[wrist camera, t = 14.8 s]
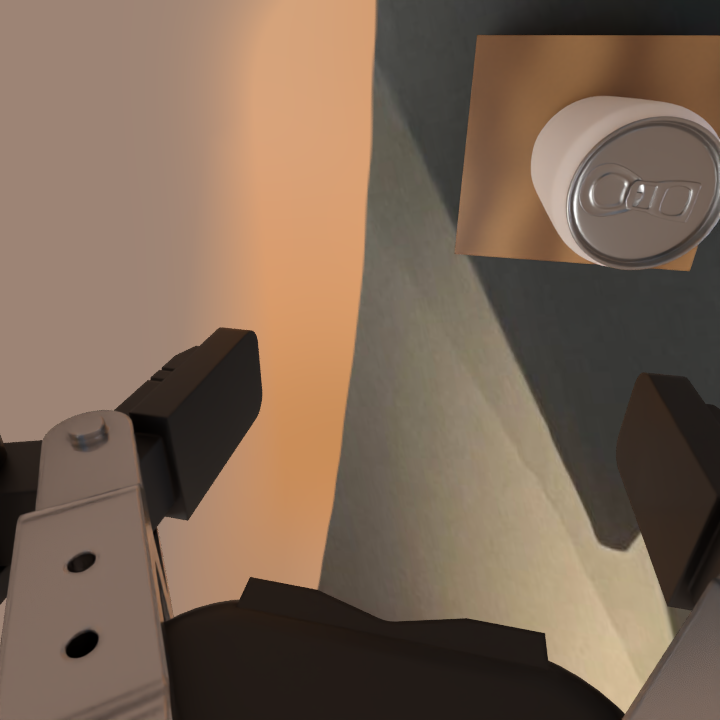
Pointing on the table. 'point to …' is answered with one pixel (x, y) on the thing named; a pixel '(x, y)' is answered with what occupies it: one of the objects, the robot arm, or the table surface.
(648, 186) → the can
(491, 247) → the wooden block
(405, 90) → the table surface
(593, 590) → the table surface
